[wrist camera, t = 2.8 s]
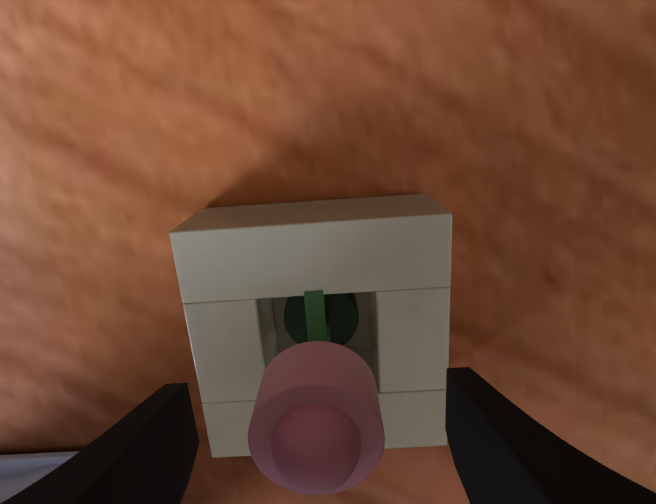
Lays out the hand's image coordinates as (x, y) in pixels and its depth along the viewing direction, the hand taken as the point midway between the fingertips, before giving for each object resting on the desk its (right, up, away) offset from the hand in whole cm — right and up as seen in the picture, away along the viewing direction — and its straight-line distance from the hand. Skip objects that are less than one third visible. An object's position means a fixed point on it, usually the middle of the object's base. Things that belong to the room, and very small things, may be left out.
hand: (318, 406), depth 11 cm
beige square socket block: (0, +2, +7) cm, 7 cm away
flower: (0, +2, +6) cm, 6 cm away
